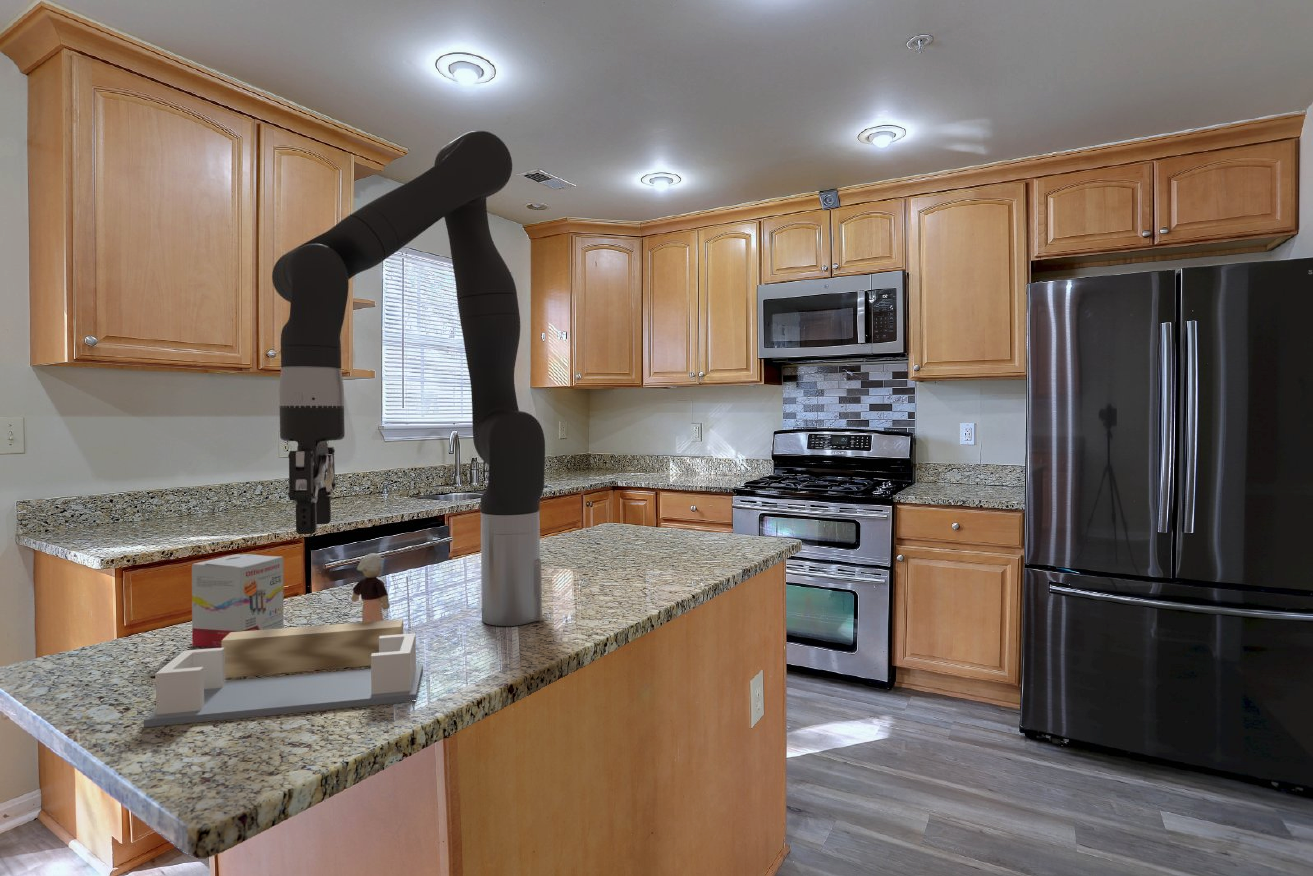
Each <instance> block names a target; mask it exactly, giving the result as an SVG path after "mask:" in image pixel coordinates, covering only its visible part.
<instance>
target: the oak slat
mask: <svg viewBox="0 0 1313 876" xmlns="http://www.w3.org/2000/svg"><path fill="white" fill-rule="evenodd" d="M398 634H404V619H390V620H389V619H388V620H383V621H374V622H362V621H361V622H352V623H351V622H350V623H338V624H337V623H336V624H335V623H334V624H322V625H310V626H298V627H297V626H296V627H295V626H294V627H284V628H281V629H267V630H254V631H241V632H230V633H229V634H228V635H227V636H226V637H225V638H224V639H223V640H222V641H221V644H222V648H225V679H231V678H232V679H233V678H242V677H253V676H254V677H255V676H263V675H264V676H265V675H275V674H287V673H295V672H296V673H298V672H307V671H319V670H320V671H321V670H330V669H341V668H353V667H362V666H364V667H365V666H366V667H367V666H371V655H372V653H379V637H380V636H385V635H398Z"/></svg>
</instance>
